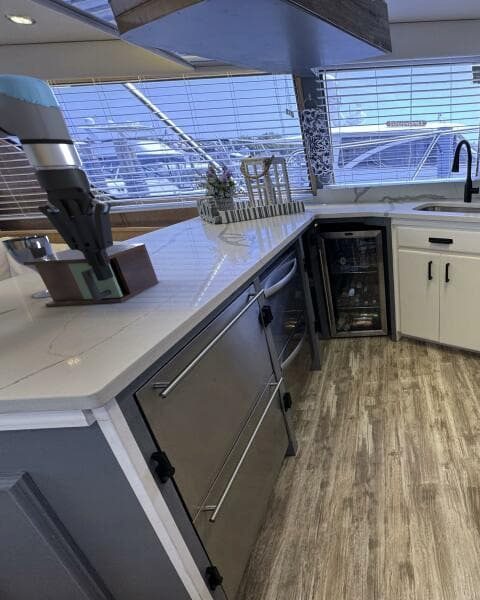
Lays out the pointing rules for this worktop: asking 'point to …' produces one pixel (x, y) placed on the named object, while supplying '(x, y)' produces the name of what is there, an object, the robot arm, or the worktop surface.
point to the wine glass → (29, 252)
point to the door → (94, 282)
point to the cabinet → (57, 275)
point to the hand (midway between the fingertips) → (105, 278)
